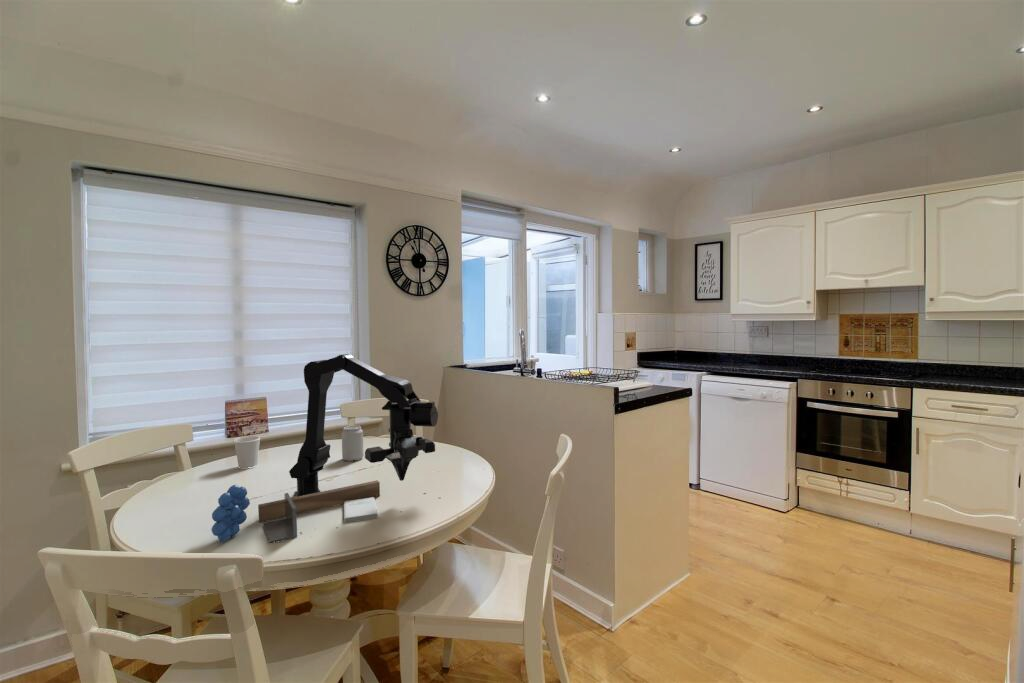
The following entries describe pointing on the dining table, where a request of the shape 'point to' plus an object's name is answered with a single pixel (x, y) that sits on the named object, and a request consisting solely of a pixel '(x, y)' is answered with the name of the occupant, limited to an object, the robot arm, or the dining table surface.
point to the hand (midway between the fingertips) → (401, 480)
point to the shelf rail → (319, 500)
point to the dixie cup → (247, 451)
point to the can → (352, 443)
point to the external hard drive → (360, 509)
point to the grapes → (230, 512)
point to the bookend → (283, 524)
